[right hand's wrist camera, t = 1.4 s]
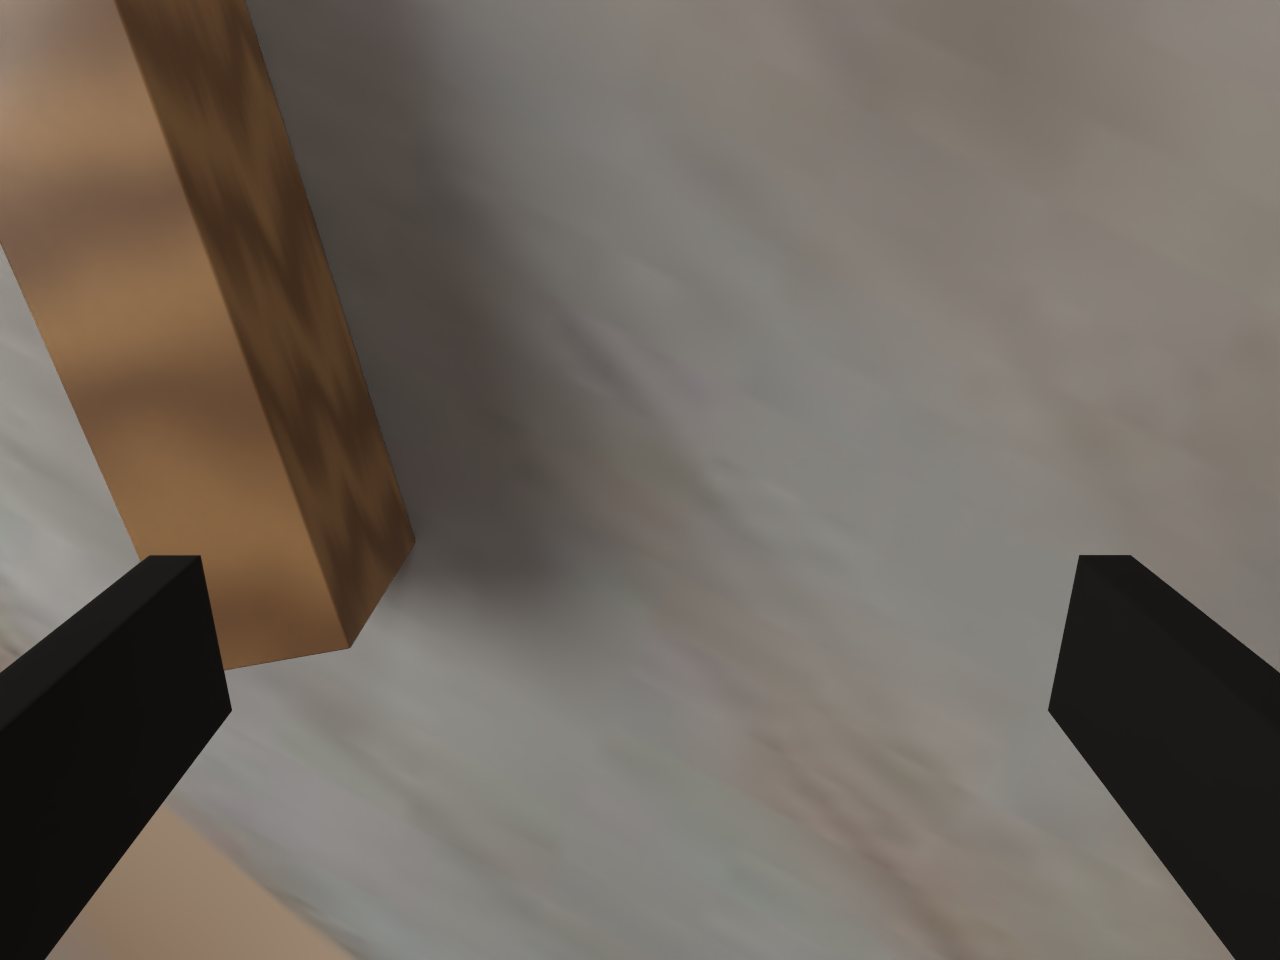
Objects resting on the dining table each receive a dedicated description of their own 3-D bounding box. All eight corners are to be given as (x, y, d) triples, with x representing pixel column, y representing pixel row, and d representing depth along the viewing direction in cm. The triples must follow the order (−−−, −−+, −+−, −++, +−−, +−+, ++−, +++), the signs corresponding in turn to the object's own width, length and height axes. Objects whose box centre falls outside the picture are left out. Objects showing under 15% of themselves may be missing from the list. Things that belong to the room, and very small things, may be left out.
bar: (416, 542, 34) (350, 649, 26) (291, 565, 34) (190, 677, 27) (191, -172, 26) (2, -319, 18) (30, -132, 26) (-223, -259, 18)
